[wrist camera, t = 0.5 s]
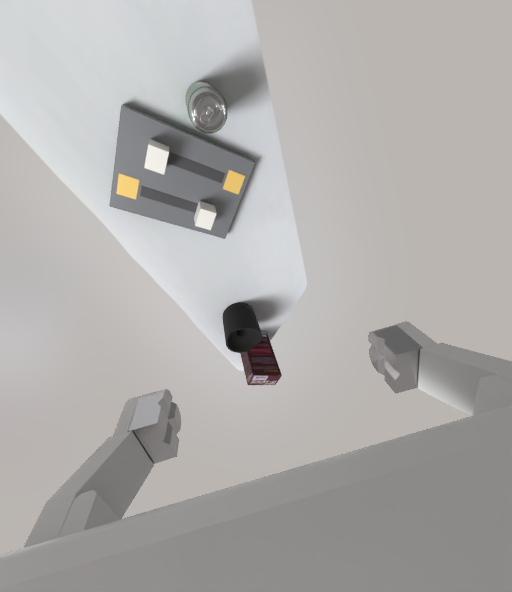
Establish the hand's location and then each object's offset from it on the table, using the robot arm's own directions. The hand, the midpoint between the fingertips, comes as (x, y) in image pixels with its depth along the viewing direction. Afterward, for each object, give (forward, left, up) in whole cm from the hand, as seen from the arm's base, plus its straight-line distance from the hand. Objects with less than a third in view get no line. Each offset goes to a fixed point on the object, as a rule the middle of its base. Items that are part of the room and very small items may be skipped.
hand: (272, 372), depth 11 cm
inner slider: (+5, -5, -45) cm, 46 cm away
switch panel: (+9, 0, -48) cm, 48 cm away
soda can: (-4, -1, -48) cm, 48 cm away
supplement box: (+47, +31, -48) cm, 73 cm away
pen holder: (+39, +23, -48) cm, 66 cm away
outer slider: (+12, +5, -45) cm, 47 cm away
